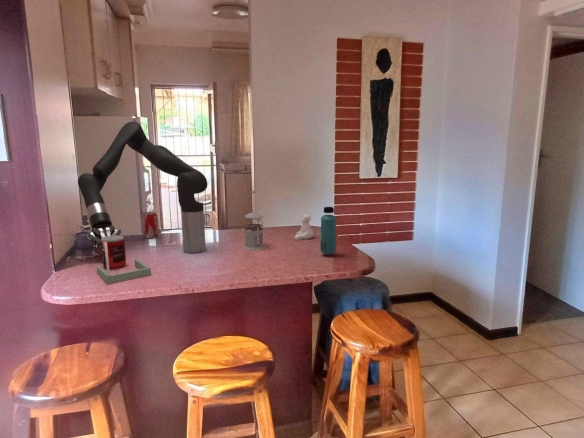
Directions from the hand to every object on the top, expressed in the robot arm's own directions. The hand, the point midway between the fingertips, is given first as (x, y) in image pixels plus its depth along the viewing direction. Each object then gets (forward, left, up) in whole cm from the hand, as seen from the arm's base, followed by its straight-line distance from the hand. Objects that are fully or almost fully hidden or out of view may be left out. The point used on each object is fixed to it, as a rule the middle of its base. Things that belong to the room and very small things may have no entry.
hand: (110, 253), depth 158 cm
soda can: (-11, -39, -4) cm, 40 cm away
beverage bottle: (-84, +9, -4) cm, 85 cm away
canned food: (-2, +4, -4) cm, 6 cm away
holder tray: (-7, +14, -4) cm, 16 cm away
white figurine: (-82, -21, -4) cm, 85 cm away
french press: (-57, -11, -4) cm, 58 cm away
